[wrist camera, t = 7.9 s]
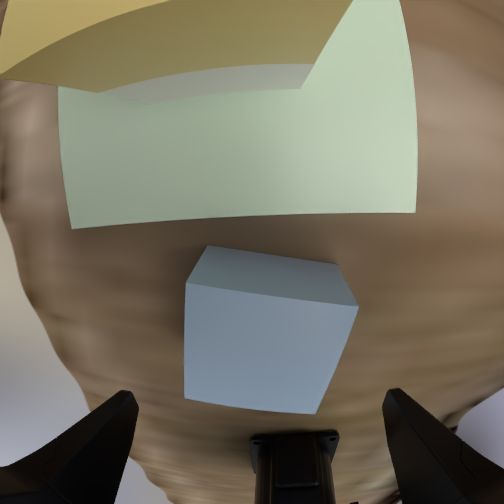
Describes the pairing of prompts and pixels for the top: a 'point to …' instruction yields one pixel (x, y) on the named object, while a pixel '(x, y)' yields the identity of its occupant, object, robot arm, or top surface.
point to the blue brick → (264, 330)
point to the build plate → (255, 140)
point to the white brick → (216, 82)
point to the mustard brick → (157, 38)
